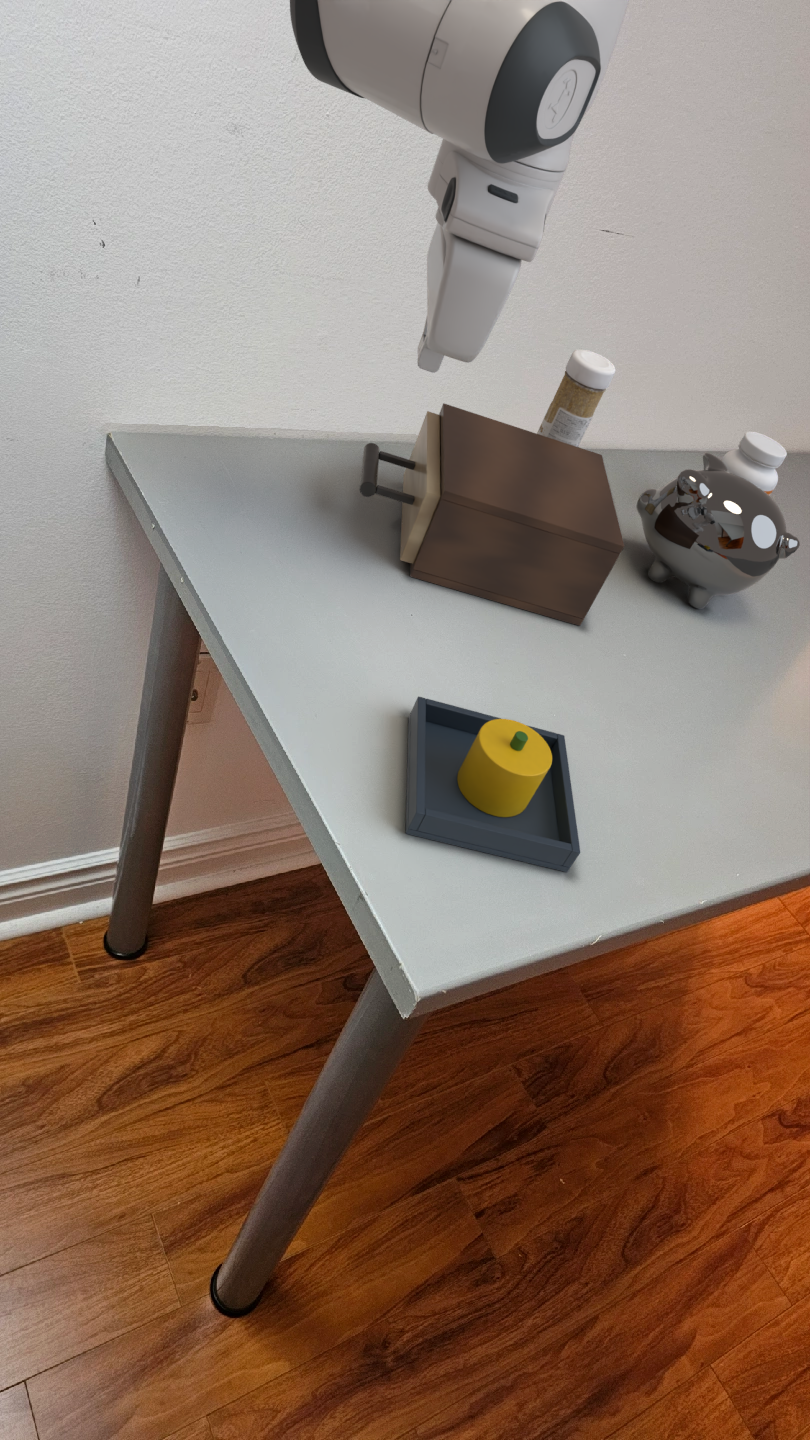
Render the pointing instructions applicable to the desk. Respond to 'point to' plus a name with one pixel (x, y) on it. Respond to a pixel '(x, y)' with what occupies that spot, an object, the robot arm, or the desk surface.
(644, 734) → the desk surface
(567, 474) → the cabinet
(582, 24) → the robot arm
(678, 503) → the piggy bank
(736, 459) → the pill bottle
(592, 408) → the sprinkles bottle
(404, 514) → the drawer
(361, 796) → the desk surface
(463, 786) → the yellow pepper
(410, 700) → the desk surface
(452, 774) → the tray
